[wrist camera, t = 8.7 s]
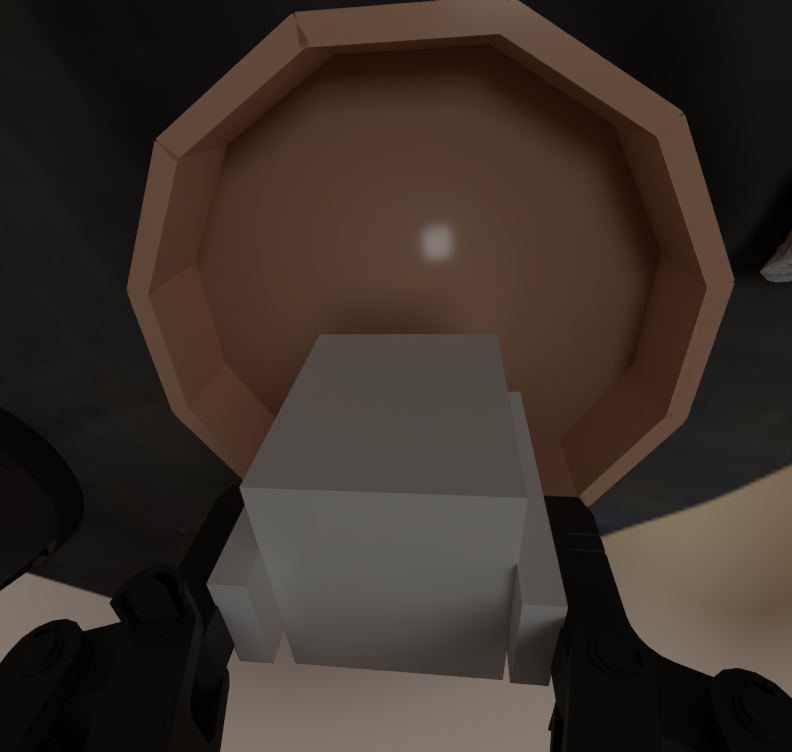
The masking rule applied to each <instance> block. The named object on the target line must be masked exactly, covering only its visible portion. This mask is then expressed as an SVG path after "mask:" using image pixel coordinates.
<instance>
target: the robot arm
mask: <svg viewBox="0 0 792 752" xmlns="http://www.w3.org/2000/svg"><path fill="white" fill-rule="evenodd" d="M508 395H509V401H510V406H511V412H512V417H513V422H514V428H515V433H516V439H517V444H518V449H519V455H520V460H521V466H522V471H523V476H524V482H525V487H526V493H527V505H526V513H525V520H524V527H523V535H522V542H521V549H520V557H519V563H517V567H516V575H515V582H514V589H513V597H512V604H511V611H510V619H509V626H508V633H507V641H506V646H507V655H508V666H509V676H510V683H518V684H530V685H543V686H549V682H550V678H551V675H552V681H553V687H554V692H555V699H556V702H555V706H554V710H553V713H552V717H551V721H550V724H549V728H548V730H550V731H551V743H550V752H792V698H791V697H790V696H789V695H787V694H786V693H785V692H784V691H783V690H782V689H781V688H780V687H779V686H777V685H776V684H775V683H773V682H772V681H770V680H768V679H766V678H765V677H763V676H761V675H759V674H757V673H755V672H751V671H747V670H744V669H740V668H734V669H725V670H722V671H721V672H720V673H718V674H717V675H716V676H715V677H712V676H709V675H706V674H704V673H701V672H698V671H696V670H693V669H691V668H688V667H686V666H683V665H680V664H678V663H675V662H673V661H671V660H669V659H667V658H665V657H662V656H661V655H659V654H658V653H657V652H655V651H654V650H652V649H651V648H650V647H648V646H647V645H646V644H645V643H644V642H643V641H642V640H641V639H640V638H639V637H638V635H637V634H636V632H635V631H634V630H633V628H632V627H631V625H630V623H629V621H628V618H627V616H626V613H625V610H624V607H623V604H622V601H621V598H620V595H619V592H618V589H617V586H616V583H615V580H614V577H613V574H612V571H611V568H610V565H609V561H608V559H607V556H606V554H605V550H604V547H603V543H602V540H601V538H600V537H599V531H598V528H597V525H596V522H595V519H594V516H593V514H592V512H591V511H590V510H589V509H588V508H587V507H586V505H585V504H584V503H583V502H582V501H581V499H580V498H579V497H566V496H543V492H542V488H541V483H540V479H539V474H538V470H537V465H536V461H535V456H534V452H533V447H532V443H531V438H530V434H529V429H528V425H527V420H526V416H525V411H524V407H523V402H522V398H521V393H520V392H508ZM239 487H240V485H232V486H231V487H230V488H229V489H228V490H227V491H226V492H225V493H223V494H222V495H221V496H220V497H219V498H218V499H217V500H216V502H215V503H214V505H213V507H212V509H211V511H210V512H209V514H208V516H207V520H205V521H204V523H203V525H202V527H201V528H200V530H199V534H198V535H196V537H195V539H194V541H193V543H192V544H191V546H190V548H189V550H188V551H187V553H186V555H185V557H184V559H183V560H182V562H181V564H180V566H179V567H178V569H175V568H173V567H171V566H156V567H153V568H150V569H146V570H143V571H141V572H140V573H138V574H136V575H135V576H133V577H131V578H130V579H128V580H127V581H126V582H125V583H124V584H123V585H122V586H121V587H120V588H119V589H118V590H117V592H116V593H115V595H114V597H113V598H112V600H111V602H110V605H111V607H112V608H113V609H114V611H115V613H116V614H117V616H118V618H119V619H120V621H121V622H119V623H115V624H111V625H107V626H103V627H99V628H95V629H91V630H87V631H82V629H81V628H80V626H79V625H78V624H77V622H74V621H71V620H68V619H62V620H54V621H51V622H48V623H46V624H44V625H41V626H39V627H37V628H35V629H34V630H33V631H31V632H30V633H28V634H27V635H25V636H24V637H23V638H21V639H20V641H19V642H18V643H17V644H16V645H15V646H14V647H13V648H12V649H11V650H10V651H9V652H8V654H7V655H6V656H5V658H4V659H3V660H2V661H1V663H0V752H220V748H221V741H222V734H223V727H224V719H225V713H226V705H227V698H228V691H229V672H228V669H227V664H228V662H229V659H230V656H231V654H232V651H233V648H235V651H236V653H237V655H238V657H239V660H240V661H252V662H263V663H274V659H275V657H276V653H277V650H278V647H279V643H280V640H281V637H282V634H283V630H284V627H285V626H284V623H283V620H282V617H281V614H280V610H279V607H278V604H277V601H276V598H275V595H274V591H273V588H272V585H271V582H270V579H269V576H268V572H267V569H266V566H265V563H264V560H263V557H262V553H261V550H259V547H258V544H257V541H256V538H255V535H254V532H253V528H252V525H251V522H250V519H249V516H248V513H247V510H246V506H245V503H244V500H243V497H242V494H241V491H240V488H239ZM83 510H84V502H83V495H82V492H81V488H80V486H79V483H78V481H77V479H76V477H75V475H74V474H73V472H72V470H71V469H70V467H69V466H68V464H67V463H66V462H65V460H64V459H63V458H62V457H61V455H60V454H59V453H58V452H57V451H56V450H55V449H54V448H53V447H52V446H51V445H50V444H49V443H48V442H47V441H46V440H45V439H44V438H43V437H42V436H41V435H40V434H38V433H37V432H36V431H35V430H34V429H32V428H31V427H30V426H28V425H27V424H26V423H24V422H23V421H21V420H20V419H19V418H17V417H15V416H14V415H12V414H11V413H9V412H8V411H6V410H4V409H2V408H1V407H0V591H1V590H2V589H3V588H5V587H6V586H8V585H9V584H11V583H12V582H13V581H15V580H16V579H18V578H19V577H20V576H22V575H23V574H25V573H26V572H27V571H28V570H30V569H31V568H32V567H34V566H36V565H38V564H40V563H41V562H43V561H44V560H46V559H47V558H49V557H50V556H51V555H52V554H53V553H55V552H56V551H57V550H58V549H59V547H60V546H61V545H62V544H63V543H64V542H65V540H66V539H67V538H68V537H69V536H70V534H71V533H72V532H73V531H74V530H75V528H76V527H77V526H78V524H79V523H80V521H81V519H82V515H83Z"/></svg>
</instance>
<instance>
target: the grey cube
mask: <svg viewBox="0 0 792 752" xmlns="http://www.w3.org/2000/svg"><path fill="white" fill-rule="evenodd" d="M239 488H240V491H241V494H242V497H243V500H244V503H245V506H246V510H247V513H248V516H249V519H250V522H251V525H252V528H253V532H254V535H255V538H256V541H257V544H258V547H259V550H261V553H262V557H263V560H264V563H265V566H266V569H267V572H268V576H269V579H270V582H271V585H272V588H273V591H274V595H275V598H276V601H277V604H278V607H279V610H280V614H281V617H282V620H283V623H284V626H285V627H284V629H285V632H286V635H287V638H288V641H289V644H290V648H291V651H292V654H293V657H294V660H295V663H298V664H311V665H323V666H336V667H348V668H360V669H372V670H385V671H398V672H410V673H422V674H435V675H447V676H459V677H472V678H484V679H497V680H503V673H504V666H505V659H506V652H507V646H506V641H507V633H508V626H509V619H510V611H511V604H512V597H513V589H514V582H515V575H516V567H517V563H519V557H520V549H521V542H522V535H523V527H524V520H525V513H526V505H527V493H526V487H525V482H524V476H523V471H522V466H521V460H520V455H519V449H518V444H517V439H516V433H515V428H514V422H513V417H512V412H511V406H510V401H509V395H508V390H507V385H506V379H505V374H504V368H503V363H502V358H501V352H500V347H499V341H498V336H497V334H320V335H319V337H318V339H317V341H316V343H315V344H314V346H313V348H312V350H311V352H310V354H309V356H308V358H307V360H306V362H305V363H304V365H303V367H302V369H301V371H300V373H299V375H298V377H297V379H296V381H295V382H294V384H293V386H292V388H291V390H290V392H289V394H288V396H287V398H286V400H285V402H284V403H283V405H282V407H281V409H280V411H279V413H278V415H277V417H276V419H275V421H274V422H273V424H272V426H271V428H270V430H269V432H268V434H267V436H266V438H265V440H264V441H263V443H262V445H261V447H260V449H259V451H258V453H257V455H256V457H255V459H254V460H253V462H252V464H251V466H250V468H249V470H248V472H247V474H246V476H245V478H244V480H243V481H242V483H241V485H240V487H239Z"/></svg>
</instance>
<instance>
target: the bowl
mask: <svg viewBox="0 0 792 752" xmlns="http://www.w3.org/2000/svg"><path fill="white" fill-rule="evenodd" d="M682 113H683V111H681V110H680V109H678V108H677V107H675V106H674V105H672V104H671V103H669V102H668V101H666V100H665V99H663V98H662V97H660V96H659V95H657V94H656V93H654V92H653V91H652V90H650V89H649V88H647V87H646V86H644V85H643V84H641V83H640V82H638V81H637V80H635V79H634V78H632V77H631V76H629V75H628V74H626V73H625V72H623V71H622V70H620V69H619V68H617V67H616V66H615V65H613V64H612V63H610V62H609V61H607V60H606V59H604V58H603V57H601V56H600V55H598V54H597V53H595V52H594V51H592V50H591V49H589V48H588V47H586V46H585V45H583V44H582V43H580V42H579V41H578V40H576V39H575V38H573V37H572V36H570V35H569V34H567V33H566V32H564V31H563V30H561V29H560V28H558V27H557V26H555V25H554V24H552V23H551V22H549V21H548V20H546V19H545V18H544V17H542V16H541V15H539V14H538V13H536V12H535V11H533V10H532V9H530V8H529V7H527V6H526V5H524V4H523V3H521V2H520V1H518V0H441V1H428V2H416V3H403V4H391V5H378V6H365V7H353V8H340V9H328V10H315V11H303V12H295V14H291V15H290V16H289V17H287V18H286V19H285V20H284V21H283V22H282V23H281V24H280V25H279V26H278V27H277V28H276V29H274V30H273V31H272V32H271V33H270V34H269V35H268V36H267V37H266V38H265V39H264V40H263V41H261V42H260V43H259V44H258V45H257V46H256V47H255V48H254V49H253V50H252V51H251V52H250V53H248V54H247V55H246V56H245V57H244V58H243V59H242V60H241V61H240V62H239V63H238V64H237V65H235V66H234V67H233V68H232V69H231V70H230V71H229V72H228V73H227V74H226V75H225V76H224V77H222V78H221V79H220V80H219V81H218V82H217V83H216V84H215V85H214V86H213V87H212V88H211V89H209V90H208V91H207V92H206V93H205V94H204V95H203V96H202V97H201V98H200V99H199V100H198V101H196V102H195V103H194V104H193V105H192V106H191V107H190V108H189V109H188V110H187V111H186V112H185V113H183V114H182V115H181V116H180V117H179V118H178V119H177V120H176V121H175V122H174V123H173V124H172V125H170V126H169V127H168V128H167V129H166V130H165V131H164V132H163V133H162V134H161V135H160V136H159V137H157V138H156V140H157V141H155V142H154V147H153V153H152V158H151V163H150V169H149V174H148V179H147V184H146V190H145V195H144V200H143V206H142V211H141V216H140V222H139V227H138V232H137V238H136V243H135V248H134V253H133V259H132V264H131V269H130V275H129V280H128V285H127V290H129V291H127V293H128V296H129V298H130V301H131V304H132V306H133V309H134V312H135V314H136V317H137V320H138V322H139V325H140V327H141V330H142V333H143V335H144V338H145V341H146V343H147V346H148V348H149V351H150V354H151V356H152V359H153V362H154V364H155V367H156V370H157V372H158V375H159V377H160V380H161V383H162V385H163V388H164V391H165V393H166V396H167V398H168V401H169V404H170V406H171V409H172V412H175V413H174V414H175V415H176V416H177V417H178V418H179V419H180V420H181V421H182V422H183V423H184V424H185V425H186V426H187V427H188V428H189V429H190V430H191V431H192V432H193V433H194V434H196V435H197V436H198V437H199V438H200V439H201V440H202V441H203V442H204V443H205V444H206V445H207V446H208V447H209V448H210V449H211V450H212V451H213V452H214V453H215V454H216V455H217V456H219V457H220V458H221V459H222V460H223V461H224V462H225V463H226V464H227V465H228V466H229V467H230V468H231V469H232V470H233V471H234V472H235V473H236V474H237V475H238V476H239V477H240V478H242V479H243V480H244V478H245V476H246V474H247V472H248V470H249V468H250V466H251V464H252V462H253V460H254V459H255V457H256V455H257V453H258V451H259V449H260V447H261V445H262V443H263V441H264V440H265V438H266V436H267V434H268V432H269V430H270V428H271V426H272V424H273V422H274V421H275V419H276V417H277V415H278V413H279V411H280V409H281V407H282V405H283V403H284V402H285V400H286V398H287V396H288V394H289V392H290V390H291V388H292V386H293V384H294V382H295V381H296V379H297V377H298V375H299V373H300V371H301V369H302V367H303V365H304V363H305V362H306V360H307V358H308V356H309V354H310V352H311V350H312V348H313V346H314V344H315V343H316V341H317V339H318V337H319V335H320V334H497V336H498V341H499V347H500V352H501V358H502V363H503V368H504V374H505V379H506V385H507V390H508V392H520V393H521V398H522V402H523V407H524V411H525V416H526V420H527V425H528V429H529V434H530V438H531V443H532V447H533V452H534V456H535V461H536V465H537V470H538V474H539V479H540V483H541V488H542V492H543V496H566V497H579V498H580V499H581V501H582V502H583V503H584V504H585V505H586V507H588V505H589V506H590V505H591V504H592V503H593V502H594V501H596V500H597V499H598V498H599V497H600V496H601V495H602V494H604V493H605V492H606V491H607V490H608V489H609V488H610V487H611V486H613V485H614V484H615V483H616V482H617V481H618V480H619V479H621V478H622V477H623V476H624V475H625V474H626V473H627V472H628V471H630V470H631V469H632V468H633V467H634V466H635V465H636V464H638V463H639V462H640V461H641V460H642V459H643V458H644V457H645V456H647V455H648V454H649V453H650V452H651V451H652V450H653V449H655V448H656V447H657V446H658V445H659V444H660V443H661V442H662V441H664V440H665V439H666V438H667V437H668V436H669V435H670V434H672V433H673V432H674V431H675V430H676V429H677V428H678V427H679V426H681V425H682V424H683V423H684V422H685V420H686V419H687V417H688V414H689V411H690V408H691V405H692V402H693V399H694V397H695V394H696V391H697V388H698V385H699V382H700V380H701V377H702V374H703V371H704V368H705V365H706V362H707V360H708V357H709V354H710V351H711V348H712V345H713V343H714V340H715V337H716V334H717V331H718V328H719V325H720V323H721V320H722V317H723V314H724V311H725V308H726V306H727V303H728V300H729V297H730V294H731V291H732V288H733V286H734V282H733V281H735V280H734V277H733V273H732V270H731V267H730V263H729V260H728V257H727V253H726V250H725V247H724V243H723V240H722V237H721V233H720V230H719V227H718V223H717V220H716V217H715V213H714V210H713V207H712V203H711V200H710V197H709V193H708V190H707V187H706V183H705V180H704V177H703V173H702V170H701V167H700V163H699V160H698V157H697V153H696V150H695V147H694V143H693V140H692V137H691V133H690V130H689V127H688V123H687V120H686V117H685V114H682Z"/></svg>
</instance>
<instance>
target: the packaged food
mask: <svg viewBox="0 0 792 752" xmlns="http://www.w3.org/2000/svg"><path fill="white" fill-rule="evenodd" d="M760 272H761V274H762V275H763V276H764V277H765V278H766V279H767V280H769V281H773V282H786V281H792V230H791V231H790V232H789V234H788V236H787V239H786V241H785V242H784V243H783V244H782V245H780V246H779V247H778V248H777V250H776V253H775V255H774V256H773V257H772V258H771V259H770V260H769V261H768V262H767V263H766V264H765V265H764V266H763V268H762V270H761V271H760Z"/></svg>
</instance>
